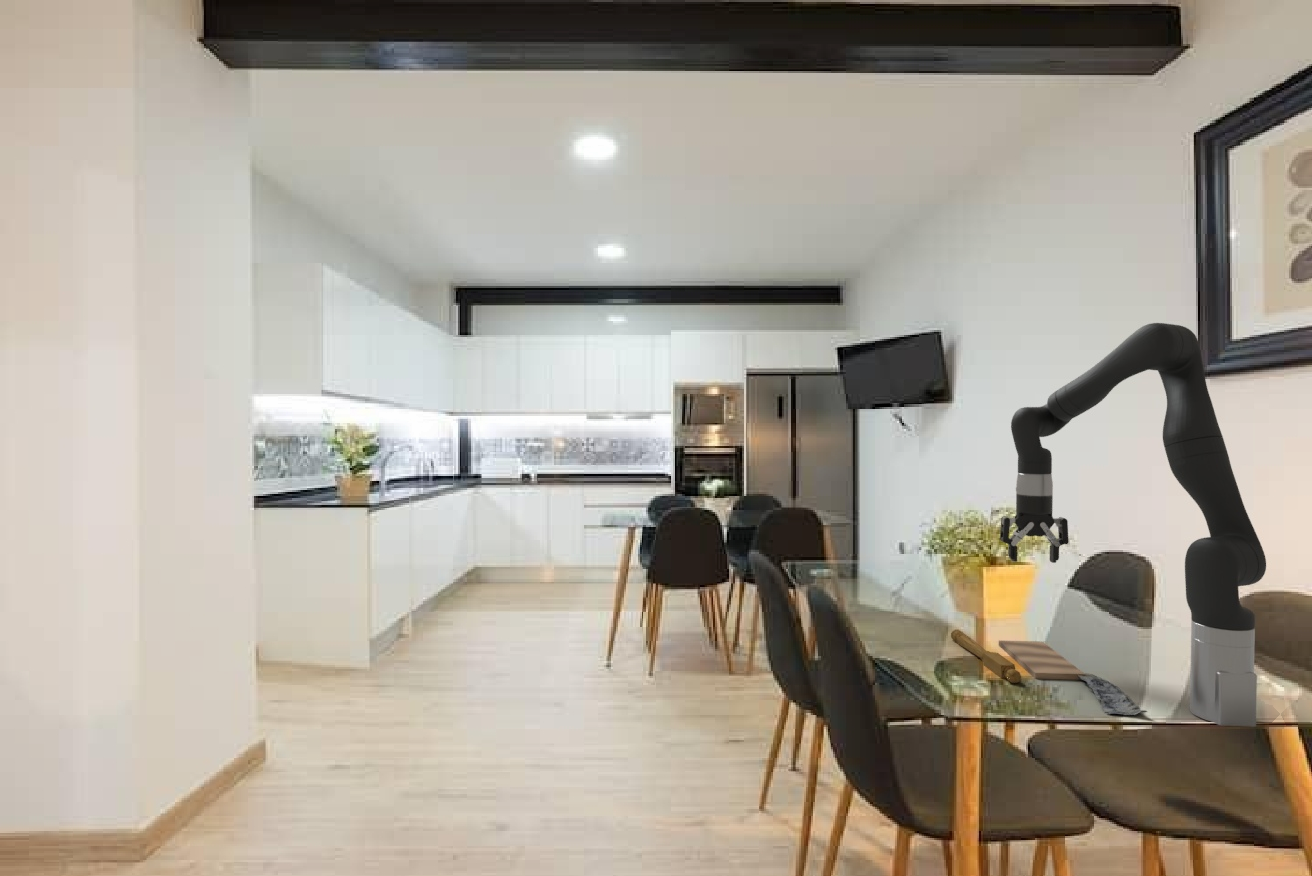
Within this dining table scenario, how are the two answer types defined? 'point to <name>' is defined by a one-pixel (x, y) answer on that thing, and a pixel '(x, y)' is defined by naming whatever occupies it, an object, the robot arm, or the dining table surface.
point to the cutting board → (1041, 660)
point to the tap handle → (988, 657)
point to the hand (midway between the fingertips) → (1033, 561)
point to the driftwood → (1111, 696)
